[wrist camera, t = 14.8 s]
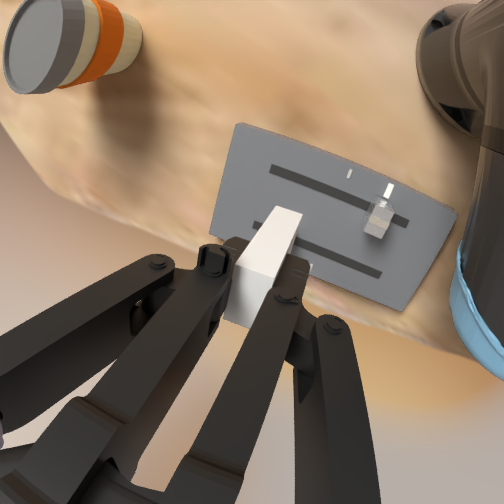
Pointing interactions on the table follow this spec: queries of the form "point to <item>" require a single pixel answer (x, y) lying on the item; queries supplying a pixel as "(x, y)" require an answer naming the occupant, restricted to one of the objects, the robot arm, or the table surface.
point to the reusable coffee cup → (67, 44)
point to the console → (331, 214)
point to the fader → (378, 217)
